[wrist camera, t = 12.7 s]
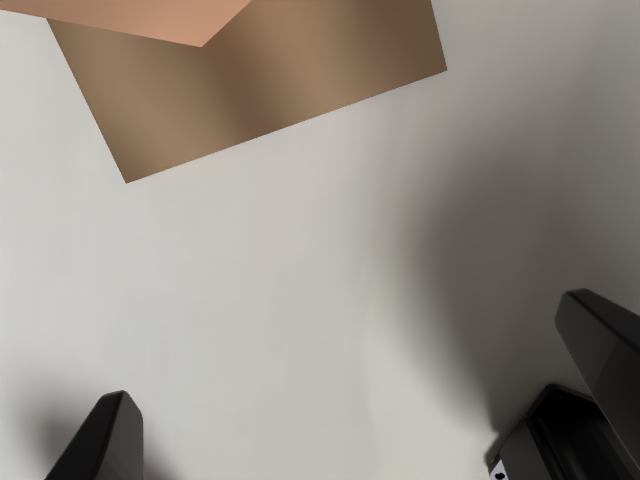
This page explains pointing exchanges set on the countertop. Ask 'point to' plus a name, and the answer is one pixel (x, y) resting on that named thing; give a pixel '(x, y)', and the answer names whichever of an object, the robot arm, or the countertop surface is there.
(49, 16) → the terracotta block
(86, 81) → the pad
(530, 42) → the countertop surface
